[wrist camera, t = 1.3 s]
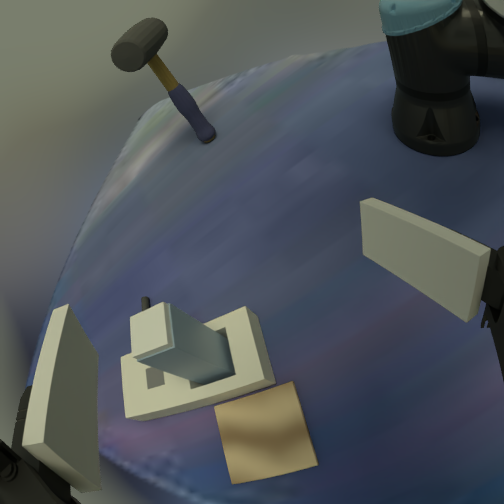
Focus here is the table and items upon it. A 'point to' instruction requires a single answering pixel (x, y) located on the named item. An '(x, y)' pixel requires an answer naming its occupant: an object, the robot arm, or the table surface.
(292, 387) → the coaster
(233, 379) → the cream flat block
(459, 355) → the table surface
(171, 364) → the pale grey tall block
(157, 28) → the rubber mallet
